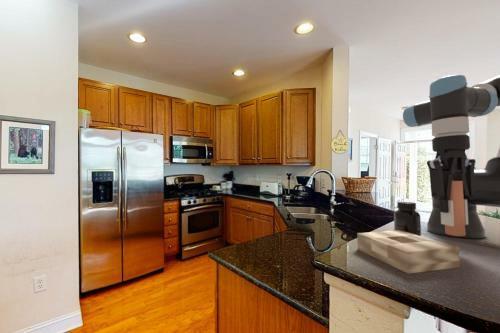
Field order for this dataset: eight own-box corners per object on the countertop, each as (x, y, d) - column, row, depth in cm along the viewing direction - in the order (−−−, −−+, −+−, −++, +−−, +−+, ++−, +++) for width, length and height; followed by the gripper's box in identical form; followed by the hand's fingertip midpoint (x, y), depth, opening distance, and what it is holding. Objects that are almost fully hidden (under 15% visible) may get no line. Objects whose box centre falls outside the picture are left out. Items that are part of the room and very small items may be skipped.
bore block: (399, 245, 67) (399, 230, 67) (459, 267, 52) (459, 247, 52) (357, 249, 64) (357, 233, 64) (408, 273, 49) (407, 252, 49)
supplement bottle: (426, 245, 67) (424, 204, 68) (400, 244, 69) (399, 203, 69) (414, 238, 74) (413, 201, 75) (391, 237, 76) (389, 201, 76)
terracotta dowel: (453, 231, 63) (450, 180, 63) (469, 235, 59) (466, 180, 59) (441, 232, 62) (438, 181, 62) (457, 236, 58) (454, 181, 58)
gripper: (459, 137, 67) (463, 218, 66) (410, 138, 63) (415, 223, 62) (491, 133, 59) (496, 224, 59) (438, 133, 56) (443, 230, 55)
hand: (454, 223), depth 61 cm, fingers closed on terracotta dowel, 4 cm apart
